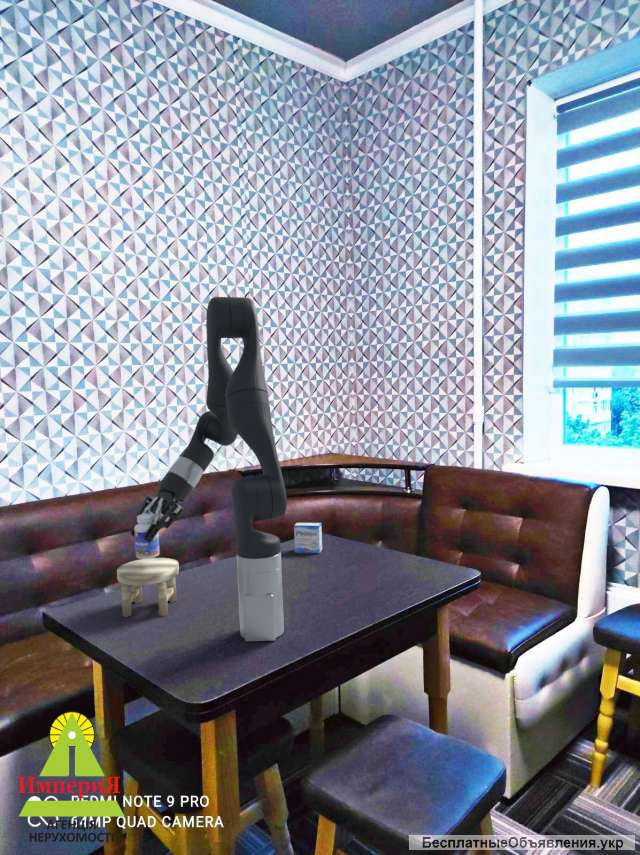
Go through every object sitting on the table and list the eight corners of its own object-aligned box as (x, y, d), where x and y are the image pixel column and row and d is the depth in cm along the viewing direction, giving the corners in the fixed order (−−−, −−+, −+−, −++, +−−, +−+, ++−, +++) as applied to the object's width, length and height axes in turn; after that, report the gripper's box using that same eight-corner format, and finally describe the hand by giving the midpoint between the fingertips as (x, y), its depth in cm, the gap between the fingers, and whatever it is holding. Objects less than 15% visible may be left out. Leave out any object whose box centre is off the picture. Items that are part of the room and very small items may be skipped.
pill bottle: (131, 557, 141) (128, 517, 140) (147, 551, 146) (144, 511, 145) (148, 560, 139) (145, 519, 138) (164, 553, 144) (162, 513, 143)
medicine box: (294, 553, 184) (293, 525, 183) (297, 549, 188) (296, 521, 187) (320, 553, 182) (319, 525, 182) (322, 549, 187) (321, 522, 186)
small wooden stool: (172, 618, 136) (170, 575, 136) (110, 620, 136) (108, 577, 135) (186, 596, 150) (184, 556, 149) (130, 597, 150) (127, 558, 149)
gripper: (155, 467, 151) (113, 524, 144) (187, 473, 141) (144, 534, 133) (175, 485, 155) (135, 541, 148) (207, 492, 145) (166, 552, 138)
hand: (139, 537), depth 141 cm, fingers closed on pill bottle, 5 cm apart
